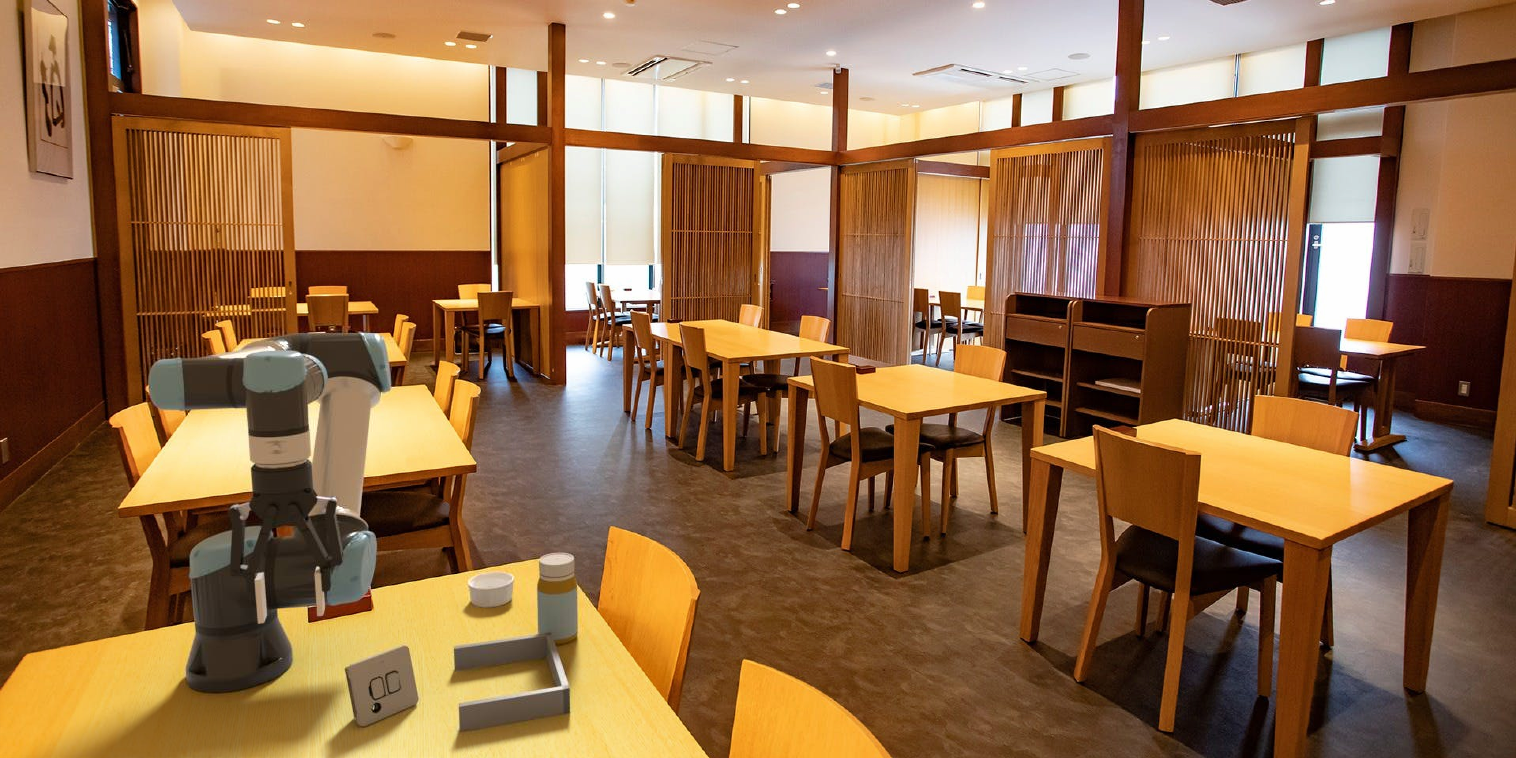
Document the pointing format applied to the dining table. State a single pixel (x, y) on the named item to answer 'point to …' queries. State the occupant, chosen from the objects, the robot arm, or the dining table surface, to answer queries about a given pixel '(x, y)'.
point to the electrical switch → (381, 685)
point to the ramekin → (491, 589)
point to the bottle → (557, 597)
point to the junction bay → (520, 703)
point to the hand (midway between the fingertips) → (292, 615)
